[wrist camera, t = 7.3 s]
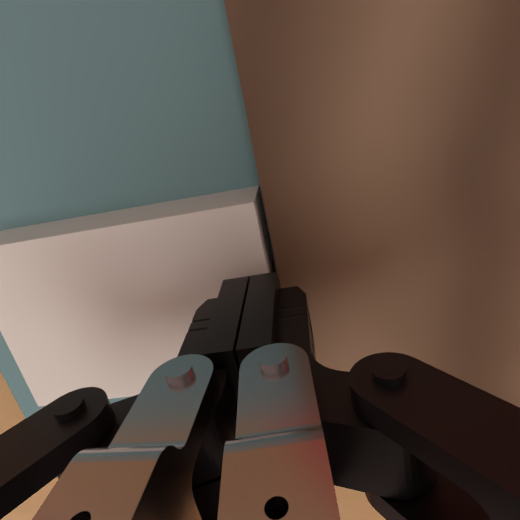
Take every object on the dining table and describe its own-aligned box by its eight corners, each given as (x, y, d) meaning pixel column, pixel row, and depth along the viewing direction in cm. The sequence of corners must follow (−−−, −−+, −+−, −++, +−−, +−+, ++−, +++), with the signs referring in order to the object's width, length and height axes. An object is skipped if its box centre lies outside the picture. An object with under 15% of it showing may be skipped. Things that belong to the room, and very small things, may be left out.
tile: (259, 185, 13) (253, 202, 11) (289, 343, 15) (289, 379, 13) (2, 230, 14) (-40, 252, 12) (66, 370, 16) (38, 406, 15)
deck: (774, -144, 10) (890, -198, 8) (656, 396, 16) (705, 438, 14) (230, -10, 11) (218, -28, 10) (313, 429, 17) (315, 470, 16)
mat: (221, -54, 11) (219, -58, 11) (316, 446, 18) (316, 454, 17) (-159, 46, 13) (-173, 45, 12) (60, 469, 19) (56, 476, 19)
